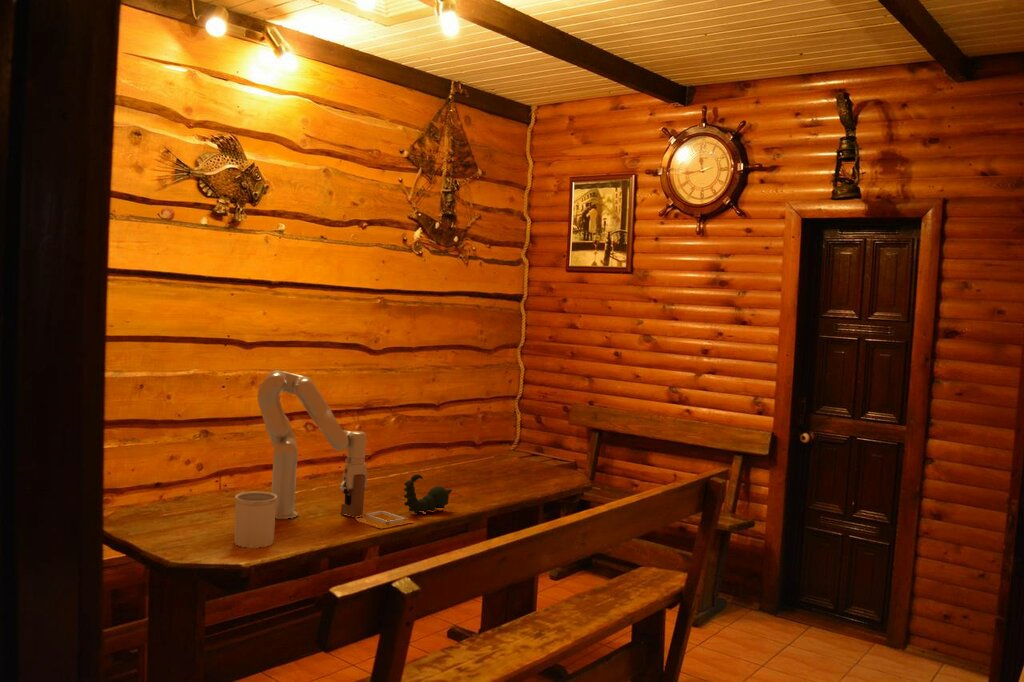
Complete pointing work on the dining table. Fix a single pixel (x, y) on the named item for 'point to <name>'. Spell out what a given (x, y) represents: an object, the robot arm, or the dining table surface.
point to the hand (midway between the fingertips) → (352, 503)
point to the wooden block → (355, 498)
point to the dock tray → (373, 514)
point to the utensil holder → (255, 519)
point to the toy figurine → (425, 497)
